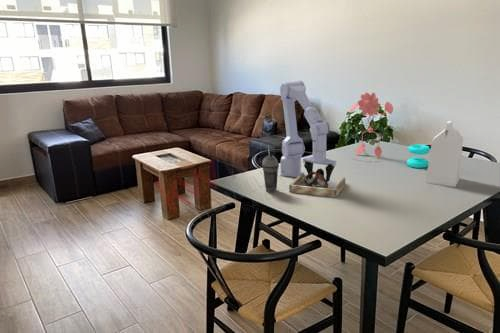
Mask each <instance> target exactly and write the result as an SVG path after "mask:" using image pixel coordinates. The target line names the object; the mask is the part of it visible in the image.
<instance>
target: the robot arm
mask: <svg viewBox="0 0 500 333" xmlns="http://www.w3.org/2000/svg"><path fill="white" fill-rule="evenodd" d="M306 89H307V87H306V85H305V82H303V81H302V80H298V81H297V80H295V81H283V83H281V86H280V87H279V90H280V100H281V101H282V107H283V116H284V124H285V125H284V126H285V133H286V137H285V138H284V139H283V140H282V142H281V144H282V145H281V153H282V156H281V158H280V164H279V165H280V174H279V175H280V176H283V177H284V176H285V177H291V178H292V177H293V178H297V177H298V176H299V175H300V174H301V173H304V172H305V171H303V170H302V163H303V167H304V168H305V170H306V172H307V174H309V173H310V172H314V171H313V170H314V164H316V165H325V168H324V169H325V173H326V174H325V175H326V176H325V177H326V178H325V179H326V182H327V183H328V182H330V180H331V176H332V174H333V171H334V169H335V167H336V166H337V160H332V159H328V158H327V135H328V134H329V133H330V125H329V122H328V121H327V120H325V119H323V118H322V117H321V115H320V113H319V111H318V109H317V108H316V107H315V106H312V104H311V101H310V99H309V96H308V95H307V93H306V91H307V90H306ZM296 100H297V102H298V103H299V104H300V106H301V108H302V109H303V110H304V113H303V116H304V118H305V119H306V121H307V123H308V124H309V127H310V128H309V133H310V135H311V140H312V157H306V156H305V157H303V155H304V153H305V150H306V147H305V144H304V141H303V140H304V139H303V138H301V137H300V136H299V135H298V125H297V117H296V109H295V108H296V107H295V105H296V104H295V102H296ZM302 157H303V158H302ZM302 159H303V160H302ZM313 175H314V174H313ZM313 175H311V176H310V177H309V178H308V179H309V180H313Z"/></svg>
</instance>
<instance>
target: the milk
mask: <svg viewBox="0 0 500 333" xmlns="http://www.w3.org/2000/svg"><path fill="white" fill-rule="evenodd" d="M463 138H464V137H463V136H462V135H461V134H460V132H459V131H458V130H457V129H455V128H454V127H453V120H448V121H447V122H446V123H445V128H444V129H443V130H442V131H441V132H439V133H438V134H437V135H436V136H434V138H432V140H431V143H430V144H431V145H430V152H429V159H428V162H429V164H428V166H427V172H426V179H425V183H426V184H432V185H440V186H445V187H455V188H456V187H457V184H458V183H459V181H460V179H461V168H462V167H461V165H462V155H463V142H464V139H463Z"/></svg>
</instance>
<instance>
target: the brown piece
mask: <svg viewBox="0 0 500 333" xmlns="http://www.w3.org/2000/svg"><path fill="white" fill-rule="evenodd" d="M311 175H314V178H312V179H311V181H310V182H308V179H309V177H310V176H311ZM304 178H305V179H304V180H303V181H302V182H303V183H302V184H303V186H309V187H314V186H319V185H320V183H319V181H320V182H323V183H324V186H323V188H327V189H329V184H328V182H326V178H325V171H324V169H323V168H317V169H316V171H313V172H310V173H309V174H308V173H307V174H306V175H305V176H304Z"/></svg>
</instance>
